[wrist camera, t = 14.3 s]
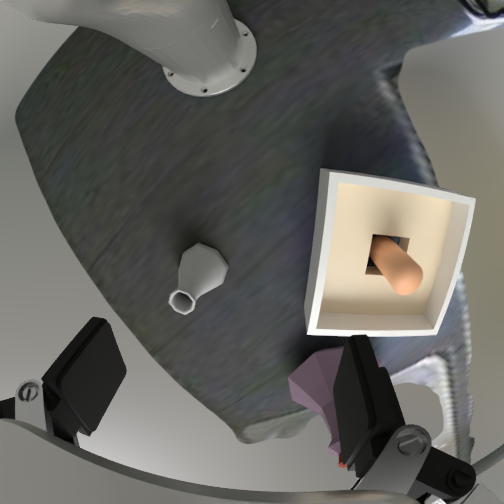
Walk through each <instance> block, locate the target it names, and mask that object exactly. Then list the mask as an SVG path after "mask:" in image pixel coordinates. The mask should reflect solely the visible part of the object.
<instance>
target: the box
mask: <svg viewBox="0 0 504 504" xmlns="http://www.w3.org/2000/svg"><path fill="white" fill-rule="evenodd" d="M475 200H476V199H474V198H472V197H469V196H466V195H463V194H460V193H457V192H454V191H451V190H448V189H444V188H439V187H435V186H430V185H426V184H421V183H416V182H411V181H406V180H400V179H395V178H389V177H383V176H377V175H370V174H364V173H357V172H350V171H342V170H334V169H325V168H320V177H319V189H318V199H317V209H316V219H315V228H314V237H313V245H312V253H311V260H310V268H309V275H308V282H307V289H306V296H305V302H304V312H305V321H306V330H307V335H324V336H351V335H361V334H366V335H367V336H369V337H379V336H422V335H436V334H437V332H438V330H439V327H440V325H441V323H442V320H443V318H444V315H445V312H446V310H447V307H448V304H449V302H450V299H451V296H452V293H453V290H454V287H455V284H456V281H457V278H458V274H459V271H460V268H461V264H462V260H463V257H464V253H465V249H466V245H467V241H468V237H469V232H470V228H471V223H472V218H473V212H474V207H475ZM373 234H379V235H388V236H397V237H400V242H399V247H400V248H401V249H403V250H404V251H405V252H406V253H407V254H408V255H409V256H410V257H411V258H412V259H413V260H414V261H415V262H416V263H417V264H419V265H420V267H421V268H422V271H423V280H422V282H421V284H420V286H419V287H418V289H417V290H416V291H414V292H413V293H411V294H408V295H400V294H398V293H396V292H395V290H394V289H393V288H392V286H391V285H390V283H389V282H388V281H387V279H386V278H385V277H384V275H383V274H382V272H381V271H380V270H379V268H378V267H373V266H367V262H368V257H369V252H370V247H371V241H372V236H373Z"/></svg>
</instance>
